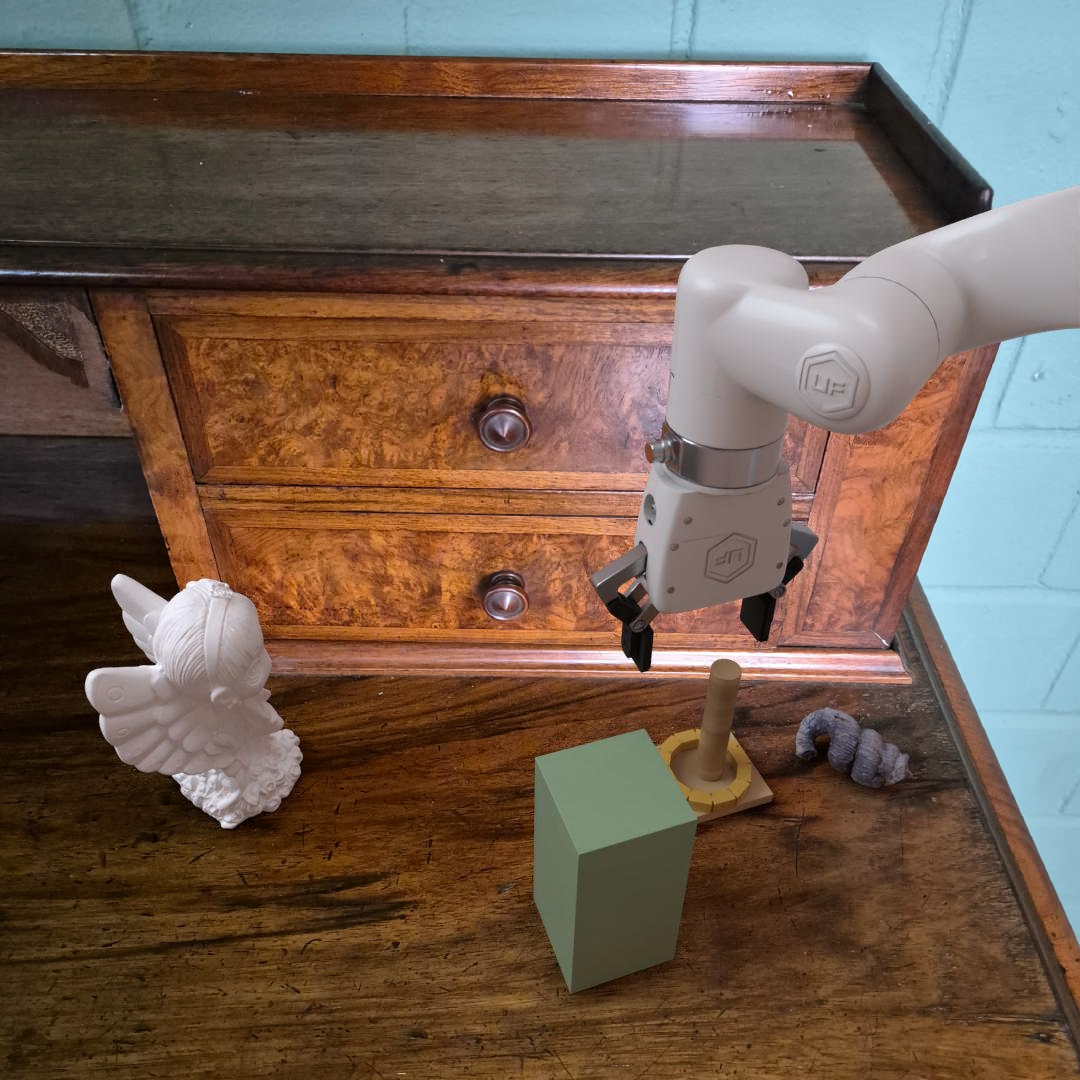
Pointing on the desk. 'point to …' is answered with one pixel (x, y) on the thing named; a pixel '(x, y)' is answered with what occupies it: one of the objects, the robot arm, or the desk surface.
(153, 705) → the cherub figurine
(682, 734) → the ring
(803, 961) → the desk surface
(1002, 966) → the desk surface
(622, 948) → the stand
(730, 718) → the post
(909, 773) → the seashell
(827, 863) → the desk surface
